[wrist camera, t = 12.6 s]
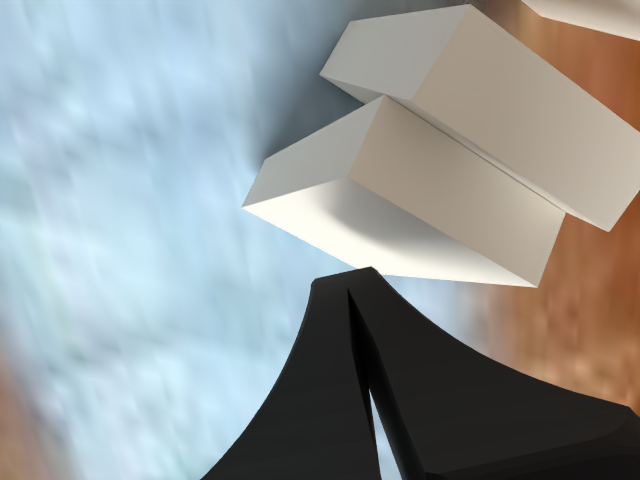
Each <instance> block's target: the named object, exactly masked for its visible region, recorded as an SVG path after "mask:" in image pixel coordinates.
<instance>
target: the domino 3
mask: <svg viewBox="0 0 640 480" xmlns="http://www.w3.org/2000/svg"><path fill="white" fill-rule="evenodd" d="M521 1H522V2H524V3H525V4H526V5H527V6H529V7H530V8H531V9H532V10H534V11H535V12H536V13H537V14H539V15H540V16H541V17H546V18H550V19H554V20H558V21H562V22H566V23H570V24H574V25H578V26H582V27H586V28H590V29H594V30H598V31H602V32H606V33H610V34H614V35H618V36H623V37H627V38H631V39H635V40H639V41H640V0H521Z"/></svg>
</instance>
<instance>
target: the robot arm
mask: <svg viewBox="0 0 640 480" xmlns="http://www.w3.org/2000/svg"><path fill="white" fill-rule="evenodd" d="M369 389H370V392H371V395H372V398H373V401H374V403H375V406H376V409H377V412H378V414H379V417H380V420H381V423H382V425H383V428H384V431H385V433H386V436H387V439H388V442H389V444H390V447H391V450H392V453H393V455H394V458H395V461H396V464H397V466H398V469H399V472H400V474H401V478H402V480H640V417H638V416H637V415H636V414H635V413H634V412H633V411H632V409H631V408H630V407H628V406H624V405H621V404H617V403H613V402H610V401H606V400H602V399H599V398H595V397H591V396H587V395H584V394H580V393H576V392H573V391H570V390H567V389H564V388H561V387H558V386H555V385H553V384H550V383H547V382H544V381H541V380H538V379H536V378H533V377H531V376H528V375H526V374H523V373H521V372H519V371H516V370H514V369H512V368H510V367H508V366H506V365H503V364H501V363H499V362H497V361H495V360H492V359H490V358H489V357H487V356H485V355H483V354H481V353H479V352H477V351H476V350H474V349H472V348H470V347H469V346H467V345H465V344H464V343H462V342H461V341H459V340H457V339H456V338H454V337H453V336H451V335H450V334H448V333H447V332H446V331H444V330H443V329H441V328H440V327H439V326H437V325H436V324H435V323H433V322H432V321H431V320H429V319H428V318H427V317H425V316H424V315H423V314H422V313H420V312H419V311H418V310H417V309H416V308H415V307H413V306H412V305H411V304H410V303H409V302H408V301H406V300H405V299H404V298H403V297H402V296H401V295H400V294H399V293H398V292H397V291H396V290H395V289H394V288H393V287H392V286H391V285H390V284H389V283H388V282H387V281H386V280H385V279H384V278H383V277H382V276H381V274H380V273H379V272H378V271H377V270H376V269H375V268H373V267H372V266H370V267H365V268H361V269H356V270H352V271H347V272H343V273H338V274H334V275H330V276H325V277H321V278H316V279H315V280H314V281H313V282H312V284H311V291H310V296H309V301H308V305H307V308H306V312H305V315H304V318H303V321H302V324H301V327H300V330H299V332H298V335H297V338H296V340H295V343H294V345H293V347H292V350H291V352H290V354H289V356H288V359H287V361H286V363H285V365H284V367H283V369H282V371H281V373H280V375H279V377H278V379H277V381H276V383H275V384H274V386H273V388H272V389H271V391H270V393H269V395H268V396H267V398H266V399H265V401H264V403H263V404H262V406H261V407H260V409H259V410H258V411H257V413H256V414H255V416H254V417H253V419H252V420H251V422H250V423H249V425H248V426H247V427H246V429H245V430H244V431H243V433H242V434H241V435H240V437H239V438H238V439H237V440H236V441H235V442H234V444H233V445H232V446H231V447H230V448H229V450H228V451H227V452H226V453H225V454H224V455H223V457H222V458H221V459H220V460H219V461H218V462H217V463H216V464H215V465H214V466H213V468H212V469H211V470H210V471H209V472H208V473H207V474H206V475H205V476H204V477H203V478H202V479H200V480H382V479H381V474H380V467H379V460H378V452H377V445H376V437H375V430H374V422H373V415H372V407H371V400H370V392H369Z"/></svg>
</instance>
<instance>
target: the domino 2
mask: <svg viewBox="0 0 640 480" xmlns="http://www.w3.org/2000/svg"><path fill="white" fill-rule="evenodd" d="M319 75H320V76H322V77H323V78H325V79H326V80H328V81H330V82H331V83H333V84H334V85H336V86H337V87H339V88H341V89H342V90H344V91H345V92H347V93H348V94H350V95H352V96H353V97H355V98H356V99H358V100H359V101H361V102H363V103H364V104H368V103H370V102H372V101H373V100H375V99H377V98H379V97H381V96H383V95H384V94H385V95H386V96H388V97H389V98H391V99H392V100H394V101H396V102H397V103H399V104H400V105H402V106H403V107H405V108H406V109H408V110H409V111H411V112H412V113H414V114H415V115H417V116H418V117H420V118H422V119H423V120H425V121H426V122H428V123H429V124H431V125H432V126H434V127H435V128H437V129H438V130H440V131H441V132H443V133H444V134H446V135H448V136H449V137H451V138H452V139H454V140H455V141H457V142H458V143H460V144H461V145H463V146H464V147H466V148H467V149H469V150H470V151H472V152H474V153H475V154H477V155H478V156H480V157H481V158H483V159H484V160H486V161H487V162H489V163H490V164H492V165H493V166H495V167H496V168H498V169H500V170H501V171H503V172H504V173H506V174H507V175H509V176H510V177H512V178H513V179H515V180H516V181H518V182H519V183H521V184H522V185H524V186H526V187H527V188H529V189H530V190H532V191H533V192H535V193H536V194H538V195H539V196H541V197H542V198H544V199H545V200H547V201H548V202H550V203H552V204H553V205H555V206H556V207H558V208H559V209H561V210H563V211H565V212H567V213H569V214H571V215H574V216H576V217H578V218H580V219H582V220H584V221H586V222H588V223H591V224H593V225H595V226H597V227H599V228H601V229H603V230H605V231H607V232H609V231H610V230H611V229H612V227H613V226H614V225H615V223H616V222H617V220H618V219H619V218H620V216H621V215H622V213H623V212H624V211H625V209H626V208H627V207H628V205H629V204H630V202H631V201H632V200H633V198H634V197H635V195H636V194H637V193H638V191H639V190H640V133H639V132H638V131H637V130H636V129H634V128H633V127H632V126H630V125H629V124H628V123H626V122H625V121H624V120H622V119H621V118H620V117H618V116H617V115H616V114H614V113H613V112H612V111H611V110H609V109H608V108H607V107H605V106H604V105H603V104H601V103H600V102H599V101H597V100H596V99H595V98H593V97H592V96H591V95H590V94H588V93H587V92H586V91H584V90H583V89H582V88H580V87H579V86H578V85H576V84H575V83H574V82H572V81H571V80H570V79H568V78H567V77H566V76H565V75H563V74H562V73H561V72H559V71H558V70H557V69H555V68H554V67H553V66H551V65H550V64H549V63H547V62H546V61H545V60H543V59H542V58H541V57H540V56H538V55H537V54H536V53H534V52H533V51H532V50H530V49H529V48H528V47H526V46H525V45H524V44H522V43H521V42H520V41H519V40H517V39H516V38H515V37H513V36H512V35H511V34H509V33H508V32H507V31H505V30H504V29H503V28H501V27H500V26H499V25H497V24H496V23H495V22H494V21H492V20H491V19H490V18H488V17H487V16H486V15H484V14H483V13H482V12H480V11H479V10H478V9H476V8H475V7H474V6H472V5H471V4H466V5H459V6H452V7H445V8H438V9H431V10H424V11H417V12H411V13H404V14H397V15H390V16H383V17H376V18H369V19H362V20H355V21H350V22H349V24H348V26H347V27H346V29H345V31H344V33H343V34H342V36H341V38H340V39H339V41H338V43H337V45H336V46H335V48H334V50H333V52H332V53H331V55H330V57H329V59H328V60H327V62H326V64H325V65H324V67H323V69H322V71H321V72H320V74H319Z"/></svg>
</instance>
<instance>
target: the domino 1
mask: <svg viewBox="0 0 640 480" xmlns="http://www.w3.org/2000/svg"><path fill="white" fill-rule="evenodd" d="M241 208H243V209H245V210H247V211H249V212H251V213H253V214H254V215H256V216H258V217H260V218H262V219H264V220H266V221H268V222H270V223H272V224H273V225H275V226H277V227H279V228H281V229H283V230H285V231H287V232H289V233H291V234H293V235H294V236H296V237H298V238H300V239H302V240H304V241H306V242H308V243H310V244H312V245H313V246H315V247H317V248H319V249H321V250H323V251H325V252H327V253H329V254H331V255H333V256H334V257H336V258H338V259H340V260H342V261H344V262H346V263H348V264H350V265H352V266H353V267H355V268H357V269H361V268H365V267H370V266H372V267H373V268H375V269H376V270H377V271H378V272H379V273H380V274H384V275H396V276H407V277H419V278H431V279H443V280H455V281H467V282H479V283H491V284H502V285H514V286H526V287H538V285H539V282H540V280H541V277H542V274H543V272H544V269H545V266H546V264H547V261H548V258H549V256H550V253H551V250H552V248H553V245H554V243H555V240H556V237H557V235H558V232H559V229H560V227H561V224H562V221H563V219H564V216H565V212H564V211H562V210H561V209H559V208H558V207H556V206H555V205H553V204H552V203H550V202H548V201H547V200H545V199H544V198H542V197H541V196H539V195H538V194H536V193H535V192H533V191H532V190H530V189H529V188H527V187H526V186H524V185H522V184H521V183H519V182H518V181H516V180H515V179H513V178H512V177H510V176H509V175H507V174H506V173H504V172H503V171H501V170H500V169H498V168H496V167H495V166H493V165H492V164H490V163H489V162H487V161H486V160H484V159H483V158H481V157H480V156H478V155H477V154H475V153H474V152H472V151H470V150H469V149H467V148H466V147H464V146H463V145H461V144H460V143H458V142H457V141H455V140H454V139H452V138H451V137H449V136H448V135H446V134H444V133H443V132H441V131H440V130H438V129H437V128H435V127H434V126H432V125H431V124H429V123H428V122H426V121H425V120H423V119H422V118H420V117H418V116H417V115H415V114H414V113H412V112H411V111H409V110H408V109H406V108H405V107H403V106H402V105H400V104H399V103H397V102H396V101H394V100H392V99H391V98H389V97H388V96H386V95H385V94H384V95H383V96H381V97H379V98H377V99H375V100H373V101H372V102H370V103H368V104H366V105H364V106H362V107H360V108H359V109H357V110H355V111H353V112H351V113H349V114H348V115H346V116H344V117H342V118H340V119H338V120H336V121H335V122H333V123H331V124H329V125H327V126H325V127H324V128H322V129H320V130H318V131H316V132H314V133H312V134H311V135H309V136H307V137H305V138H303V139H301V140H300V141H298V142H296V143H294V144H292V145H290V146H288V147H287V148H285V149H283V150H281V151H279V152H277V153H275V154H274V155H272V156H270V157H268V158H266V159H265V160H264V162H263V164H262V166H261V169H260V171H259V173H258V175H257V177H256V179H255V181H254V183H253V185H252V187H251V189H250V191H249V193H248V195H247V197H246V199H245V201H244V203H243V205H242V207H241Z"/></svg>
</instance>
